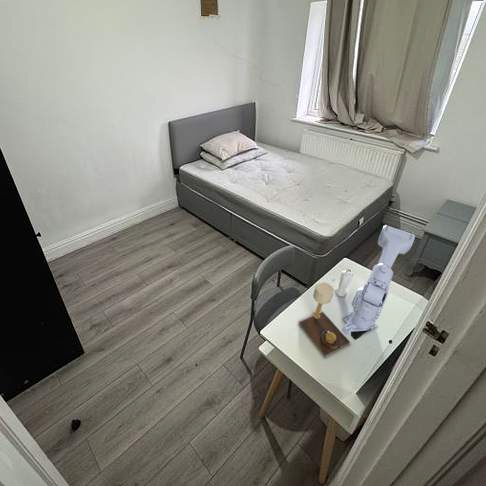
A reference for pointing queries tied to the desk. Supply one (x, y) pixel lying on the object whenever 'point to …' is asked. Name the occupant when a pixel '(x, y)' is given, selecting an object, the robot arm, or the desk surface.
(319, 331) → the lamp base
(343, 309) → the desk surface
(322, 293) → the lamp
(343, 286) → the perfume bottle
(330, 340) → the lamp switch
